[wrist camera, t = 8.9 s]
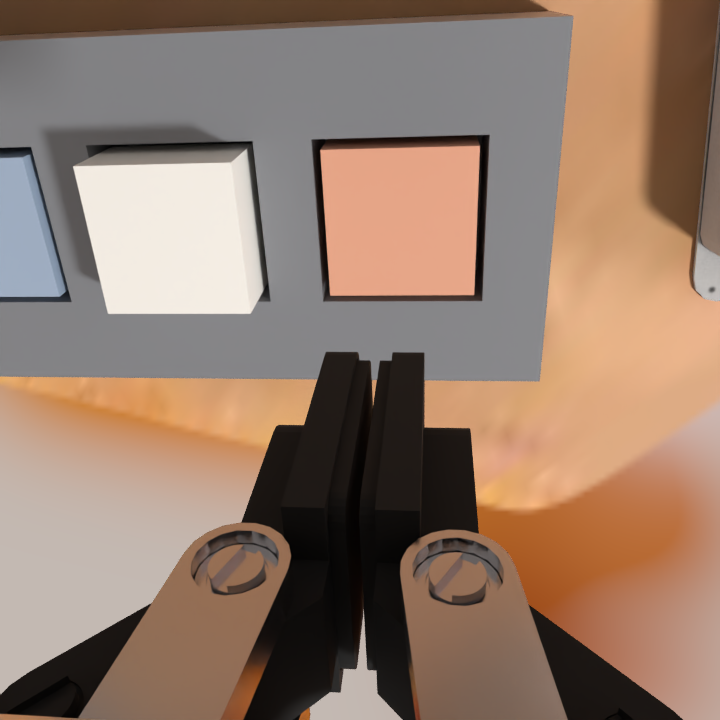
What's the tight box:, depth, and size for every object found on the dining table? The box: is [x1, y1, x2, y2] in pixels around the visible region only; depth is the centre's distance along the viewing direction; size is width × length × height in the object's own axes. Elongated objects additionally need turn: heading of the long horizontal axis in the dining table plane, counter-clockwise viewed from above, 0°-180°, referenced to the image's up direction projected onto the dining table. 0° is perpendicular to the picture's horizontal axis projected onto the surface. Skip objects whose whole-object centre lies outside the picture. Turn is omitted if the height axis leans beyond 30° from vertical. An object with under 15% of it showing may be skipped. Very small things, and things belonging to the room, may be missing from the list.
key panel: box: [0, 11, 573, 381], centre depth 26 cm, size 12×25×4 cm, turn 92°
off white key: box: [73, 143, 268, 314], centre depth 24 cm, size 5×5×3 cm
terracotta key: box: [320, 135, 480, 296], centre depth 24 cm, size 5×5×3 cm
